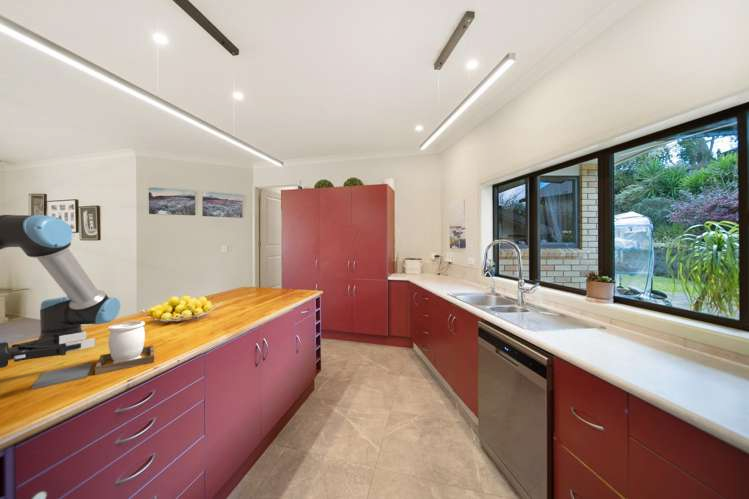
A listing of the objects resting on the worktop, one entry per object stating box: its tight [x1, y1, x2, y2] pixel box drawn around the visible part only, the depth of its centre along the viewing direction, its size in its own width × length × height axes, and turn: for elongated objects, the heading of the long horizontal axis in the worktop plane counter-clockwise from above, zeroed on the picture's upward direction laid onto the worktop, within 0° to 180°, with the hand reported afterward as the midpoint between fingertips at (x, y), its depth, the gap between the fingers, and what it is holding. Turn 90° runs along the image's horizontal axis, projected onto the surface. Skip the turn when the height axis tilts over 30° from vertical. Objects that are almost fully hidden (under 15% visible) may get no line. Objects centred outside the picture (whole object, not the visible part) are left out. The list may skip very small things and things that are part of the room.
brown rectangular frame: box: [94, 345, 155, 376], centre depth 103 cm, size 15×16×2 cm
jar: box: [107, 320, 146, 364], centre depth 103 cm, size 11×10×15 cm
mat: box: [30, 362, 93, 391], centre depth 92 cm, size 14×12×1 cm
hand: (90, 338), depth 94 cm, fingers open, 13 cm apart
